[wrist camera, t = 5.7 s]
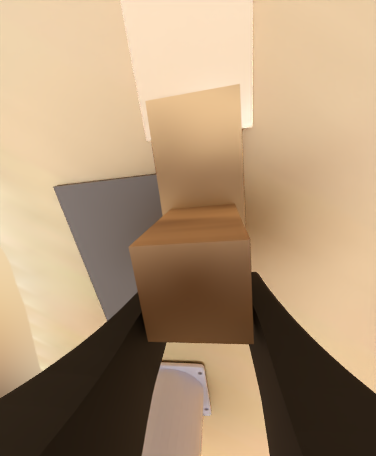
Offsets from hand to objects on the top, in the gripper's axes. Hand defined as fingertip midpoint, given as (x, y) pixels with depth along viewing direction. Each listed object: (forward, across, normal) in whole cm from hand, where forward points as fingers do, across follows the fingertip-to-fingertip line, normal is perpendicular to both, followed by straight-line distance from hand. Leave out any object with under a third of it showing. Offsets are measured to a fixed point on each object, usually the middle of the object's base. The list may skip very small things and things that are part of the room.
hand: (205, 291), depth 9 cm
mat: (+7, +6, +2) cm, 10 cm away
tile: (+6, 0, -7) cm, 9 cm away
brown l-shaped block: (+4, 0, -4) cm, 6 cm away
